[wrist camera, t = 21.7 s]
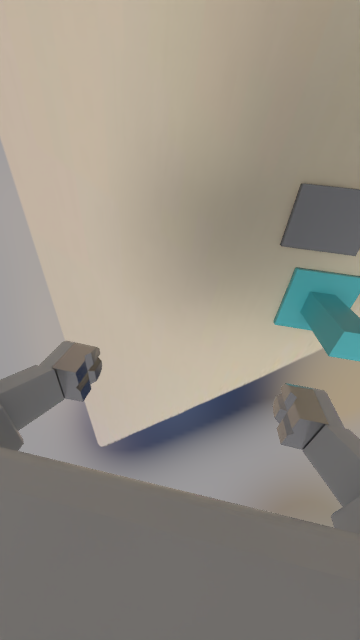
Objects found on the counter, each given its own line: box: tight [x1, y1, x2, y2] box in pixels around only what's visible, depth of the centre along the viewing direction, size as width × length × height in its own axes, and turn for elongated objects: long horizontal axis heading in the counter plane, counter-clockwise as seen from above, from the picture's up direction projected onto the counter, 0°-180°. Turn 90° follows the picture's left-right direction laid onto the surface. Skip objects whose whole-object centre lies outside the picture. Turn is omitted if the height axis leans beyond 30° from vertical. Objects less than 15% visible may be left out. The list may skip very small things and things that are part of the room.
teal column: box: [300, 291, 360, 361], centre depth 35 cm, size 4×4×13 cm
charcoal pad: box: [280, 184, 360, 256], centre depth 33 cm, size 9×12×1 cm
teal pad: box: [274, 268, 360, 330], centre depth 41 cm, size 12×12×1 cm
